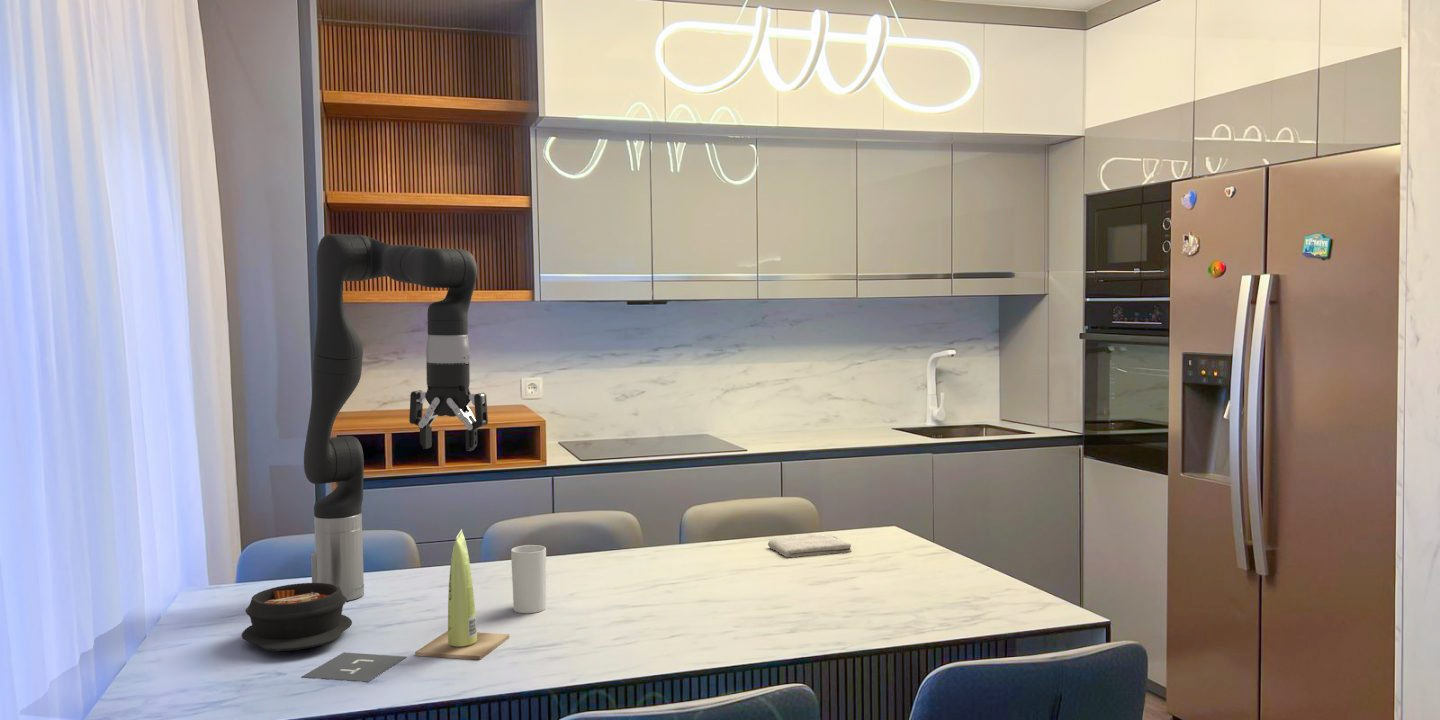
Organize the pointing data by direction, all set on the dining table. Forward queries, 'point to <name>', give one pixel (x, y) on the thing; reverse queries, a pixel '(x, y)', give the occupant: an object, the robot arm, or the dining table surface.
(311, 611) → the casserole
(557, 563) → the dining table surface
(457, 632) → the tube
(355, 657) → the label
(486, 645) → the cork pad
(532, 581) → the mug
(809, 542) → the washcloth
